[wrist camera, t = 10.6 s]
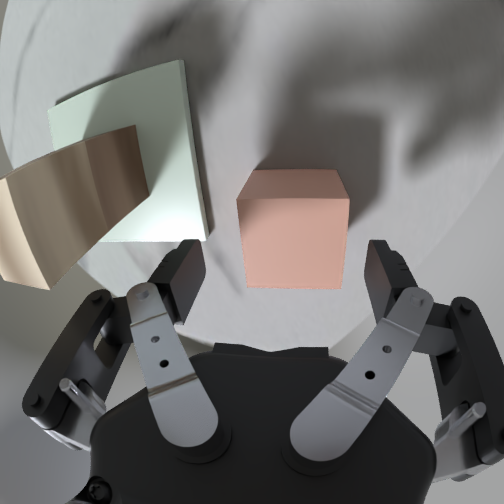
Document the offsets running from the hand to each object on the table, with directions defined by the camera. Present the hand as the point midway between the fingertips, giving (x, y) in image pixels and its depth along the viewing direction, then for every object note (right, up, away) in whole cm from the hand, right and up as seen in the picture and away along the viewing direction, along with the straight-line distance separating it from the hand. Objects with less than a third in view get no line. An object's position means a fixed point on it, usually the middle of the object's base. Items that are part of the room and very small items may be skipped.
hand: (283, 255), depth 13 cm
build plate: (-11, +7, +4) cm, 13 cm away
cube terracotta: (+1, +3, +4) cm, 6 cm away
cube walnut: (-11, +6, +4) cm, 13 cm away
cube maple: (-12, +3, 0) cm, 12 cm away
